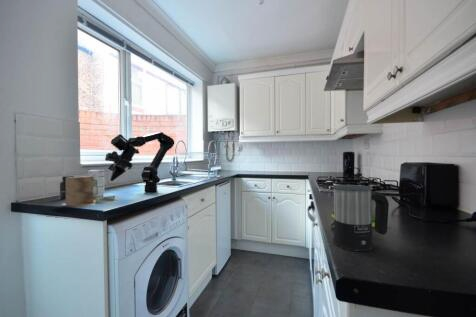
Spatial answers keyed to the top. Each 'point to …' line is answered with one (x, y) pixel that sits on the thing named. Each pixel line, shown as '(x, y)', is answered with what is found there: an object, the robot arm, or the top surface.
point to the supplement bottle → (63, 187)
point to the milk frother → (357, 216)
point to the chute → (99, 200)
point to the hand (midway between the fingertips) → (111, 180)
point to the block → (79, 190)
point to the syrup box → (97, 181)
